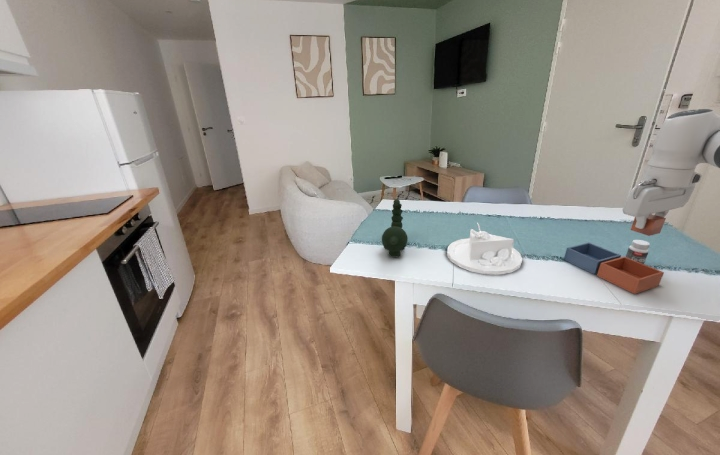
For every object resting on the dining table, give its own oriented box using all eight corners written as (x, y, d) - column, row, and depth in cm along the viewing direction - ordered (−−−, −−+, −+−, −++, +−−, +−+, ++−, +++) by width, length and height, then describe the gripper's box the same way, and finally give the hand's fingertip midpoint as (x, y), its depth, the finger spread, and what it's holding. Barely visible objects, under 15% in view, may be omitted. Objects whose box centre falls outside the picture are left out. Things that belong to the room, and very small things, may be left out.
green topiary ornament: (386, 239, 125) (379, 263, 102) (385, 196, 120) (379, 211, 96) (408, 239, 124) (406, 264, 100) (408, 196, 118) (407, 212, 95)
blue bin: (616, 267, 93) (621, 255, 92) (594, 274, 91) (598, 261, 89) (585, 253, 102) (588, 242, 101) (563, 259, 100) (566, 247, 98)
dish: (446, 269, 97) (448, 239, 93) (448, 238, 119) (450, 212, 115) (528, 279, 90) (534, 246, 86) (514, 243, 112) (519, 216, 108)
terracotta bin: (658, 285, 84) (664, 272, 82) (634, 294, 81) (639, 280, 79) (619, 268, 93) (624, 256, 91) (596, 275, 90) (600, 262, 88)
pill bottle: (628, 268, 93) (636, 245, 89) (620, 261, 97) (627, 238, 94) (646, 269, 92) (655, 246, 88) (637, 262, 96) (645, 239, 93)
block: (660, 233, 80) (666, 218, 78) (649, 236, 79) (654, 220, 77) (641, 227, 84) (646, 212, 82) (630, 229, 83) (635, 215, 81)
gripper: (653, 184, 70) (634, 236, 75) (706, 175, 75) (685, 224, 81) (624, 179, 75) (608, 228, 81) (675, 170, 81) (657, 216, 86)
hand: (647, 226), depth 81 cm, fingers closed on block, 4 cm apart
